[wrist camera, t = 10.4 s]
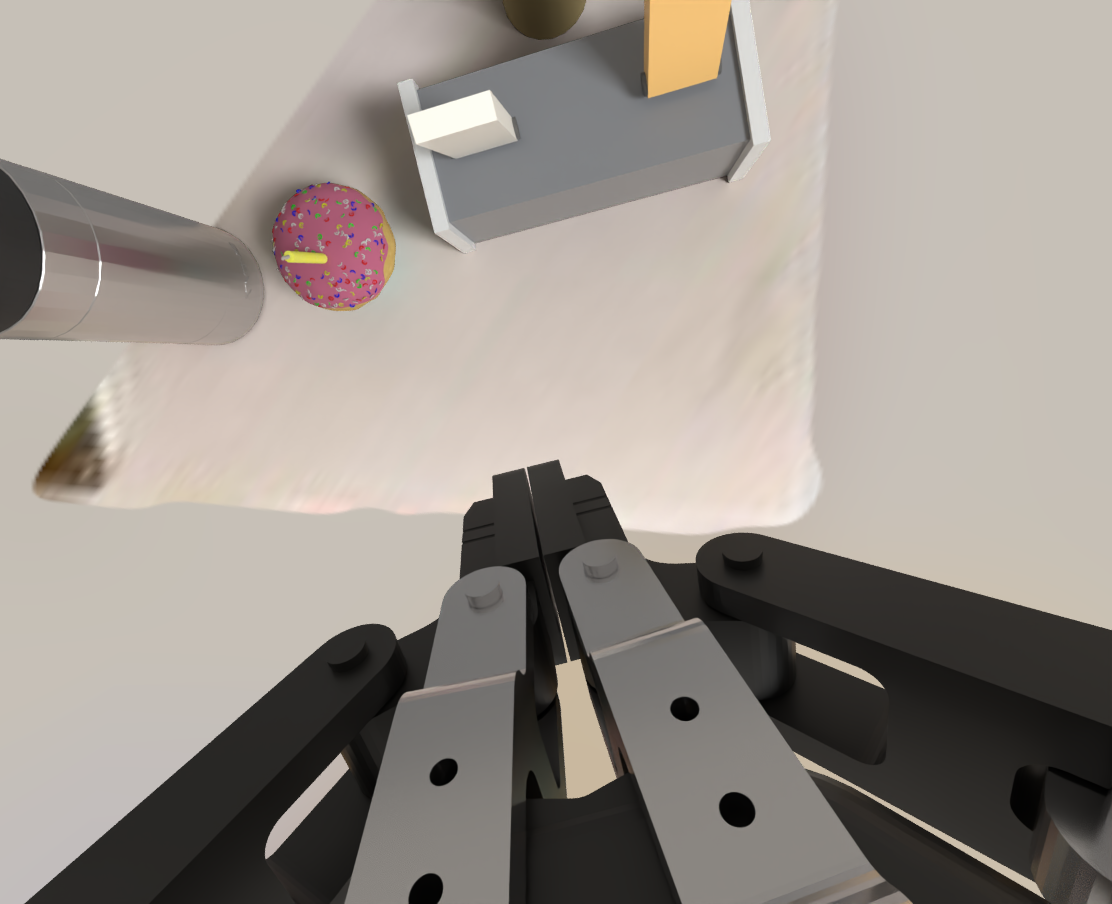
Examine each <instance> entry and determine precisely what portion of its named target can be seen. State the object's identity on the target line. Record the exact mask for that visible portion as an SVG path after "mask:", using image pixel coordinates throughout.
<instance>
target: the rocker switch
mask: <svg viewBox="0 0 1112 904" xmlns="http://www.w3.org/2000/svg"><path fill="white" fill-rule="evenodd" d="M407 117H408V120H409V123H410V126H411V130H412V133H413V136H414V139H415V143H416V144H417V145H419V146H422V147H425V148H428V149H430V150H433V151H436V152H439V153H441V154H444V155H447V156H450V158H451V159H454V158H455V159H457V158H461V157H464V156H468V155H471V154H474V153H478V152H481V151H485V150H488V149H491V148H495V147H498V146H502V145H505V144H508V143H512V142H515V141H518V140H519V139H521V138H520V132H519V128H518V124H517V121H516V118H515V117H511V116H510V115H509V113H508V112H507V111H506V110H505V108H504V107H503V106H502V105H501V103H500V102H499V101H498V100H497V98H496V97H495V96H494V95H493V93H492V92H491V91H490V90H488V91H484V92H481V93H478V94H475V95H471V96H468V97H465V98H462V99H458V100H455V101H452V102H449V103H445V104H442V105H439V106H436V107H433V108H429V109H426V110H423V111H420V112H416V113H413V114H410V115H407Z"/></svg>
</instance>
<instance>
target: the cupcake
mask: <svg viewBox="0 0 1112 904" xmlns="http://www.w3.org/2000/svg"><path fill="white" fill-rule="evenodd" d="M298 191H299V192H298ZM296 192H297V193H296V194H295V195H294V196H293V197H291V198H290V199H289V200H288V201H287V202H286V203H285V204H284V205H283V207H282V209H281V211H280V213H279V215H278V217H277V218H276V222H275V224H274V226H273V230H272V233H273V238H272V240H271V242H272V241H273V247H274V248H273V249H272V252H273V253H274V255H275V258H276V261H277V265H278V268H279V269H278V268H277V269H276V270H277V271H279V270H280V271H279V272H281V275H282V276H283V278H284V280H285V282H287V283H288V284H289V286H290V287H291V288H292V289H293V290H294V291H295V292H296V293H297V294H298V295H299V296H300V297H301V298H302V300H303V299H304V300H305V301H307V302H308V303H310V304H313V305H316V306H318V307H322V308H324V309H328V310H334V311H351V310H356V309H359V308H360V307H362V306H363V305H365V304H366V303H368V302H370V301H371V300H373V299H375V298H377V297H378V295H379V294H380V292H381V290H382V289H383V287H384V286H385V284H386V283H387V281H388V279H389V278H390V276H391V274H392V272H393V270H394V265H395V251H396V244H395V239H394V236H393V233H392V231H391V228H390V226H389V224H388V222H387V220H386V218H385V215H384V212H383V211H382V209H381V208H380V207H379V206H378V205H377V204H375V203H374V202H373V201H372V200H371V199H369V198H368V197H367V196H366V195H364V194H363V193H362V192H360V191H358V190H356V189H354V188H350V187H347V186H343V185H339V184H333V183H330V182H328V183H321V184H317V183H316V185H311V186H309V187H307V188H305V189H303V190H300V189H297V190H296Z"/></svg>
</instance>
